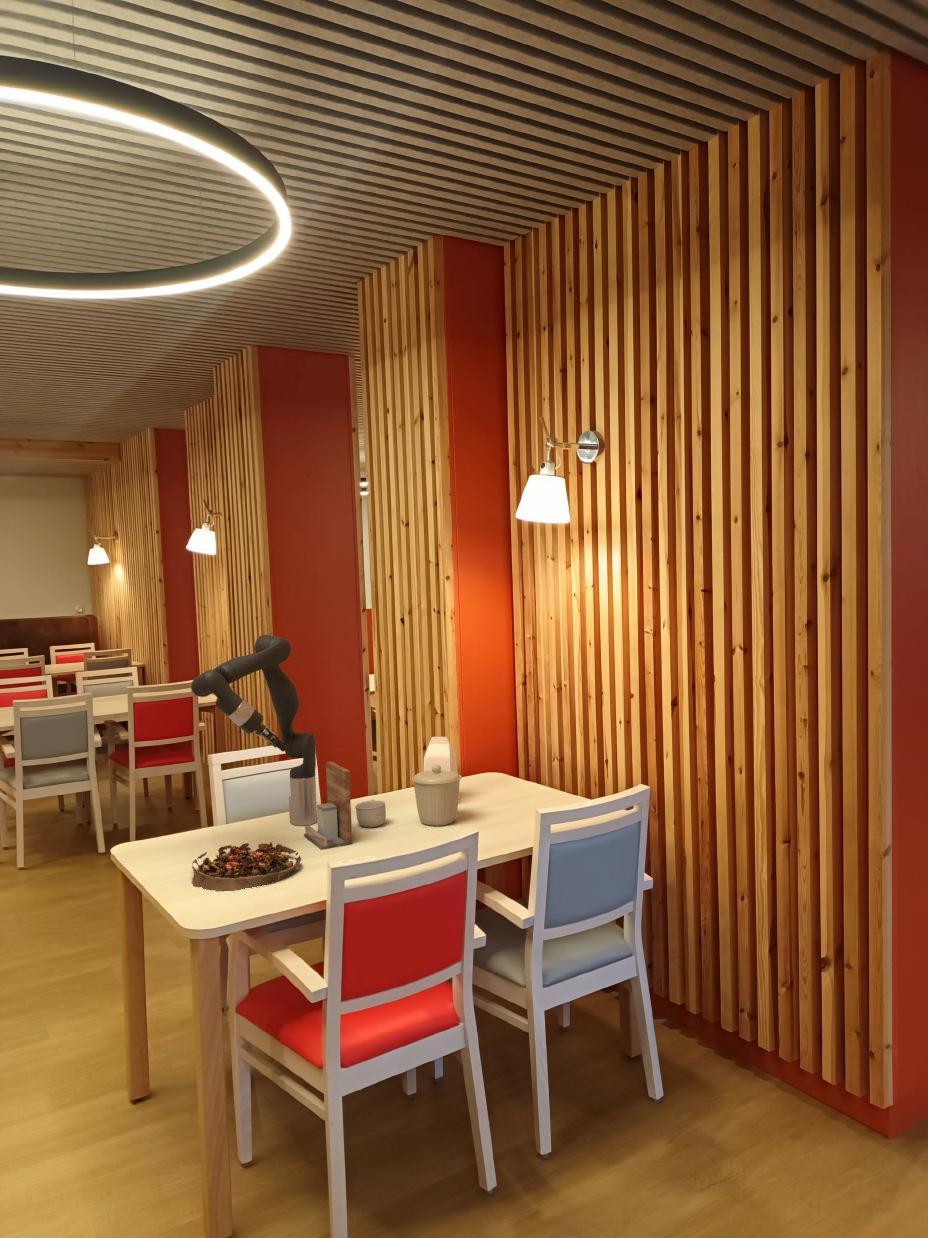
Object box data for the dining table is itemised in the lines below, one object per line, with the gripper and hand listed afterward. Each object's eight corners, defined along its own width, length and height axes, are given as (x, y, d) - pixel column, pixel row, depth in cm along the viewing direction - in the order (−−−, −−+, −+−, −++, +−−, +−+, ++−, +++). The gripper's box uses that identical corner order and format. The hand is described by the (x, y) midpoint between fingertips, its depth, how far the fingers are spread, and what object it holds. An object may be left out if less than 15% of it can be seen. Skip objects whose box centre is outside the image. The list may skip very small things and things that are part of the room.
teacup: (381, 830, 322) (380, 807, 322) (352, 829, 324) (351, 807, 324) (392, 819, 336) (391, 798, 335) (364, 818, 338) (363, 797, 338)
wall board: (320, 849, 301) (318, 775, 300) (304, 836, 317) (301, 765, 316) (352, 844, 306) (349, 770, 305) (334, 831, 322) (331, 761, 321)
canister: (470, 825, 325) (468, 767, 323) (421, 831, 318) (419, 772, 317) (453, 813, 342) (451, 757, 340) (407, 819, 335) (405, 762, 334)
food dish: (245, 853, 305) (245, 830, 304) (323, 868, 288) (323, 844, 288) (162, 882, 274) (162, 856, 274) (244, 901, 258) (243, 873, 257)
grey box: (323, 840, 308) (322, 808, 307) (318, 836, 313) (316, 805, 312) (337, 838, 310) (336, 806, 309) (331, 834, 315) (330, 802, 315)
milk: (423, 805, 354) (420, 739, 353) (430, 798, 365) (428, 734, 364) (453, 806, 351) (450, 740, 350) (459, 799, 362) (457, 734, 361)
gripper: (258, 710, 288) (295, 741, 294) (247, 704, 300) (282, 735, 306) (242, 728, 286) (280, 760, 291) (232, 722, 298) (267, 752, 304)
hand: (281, 747), depth 299 cm, fingers open, 8 cm apart
